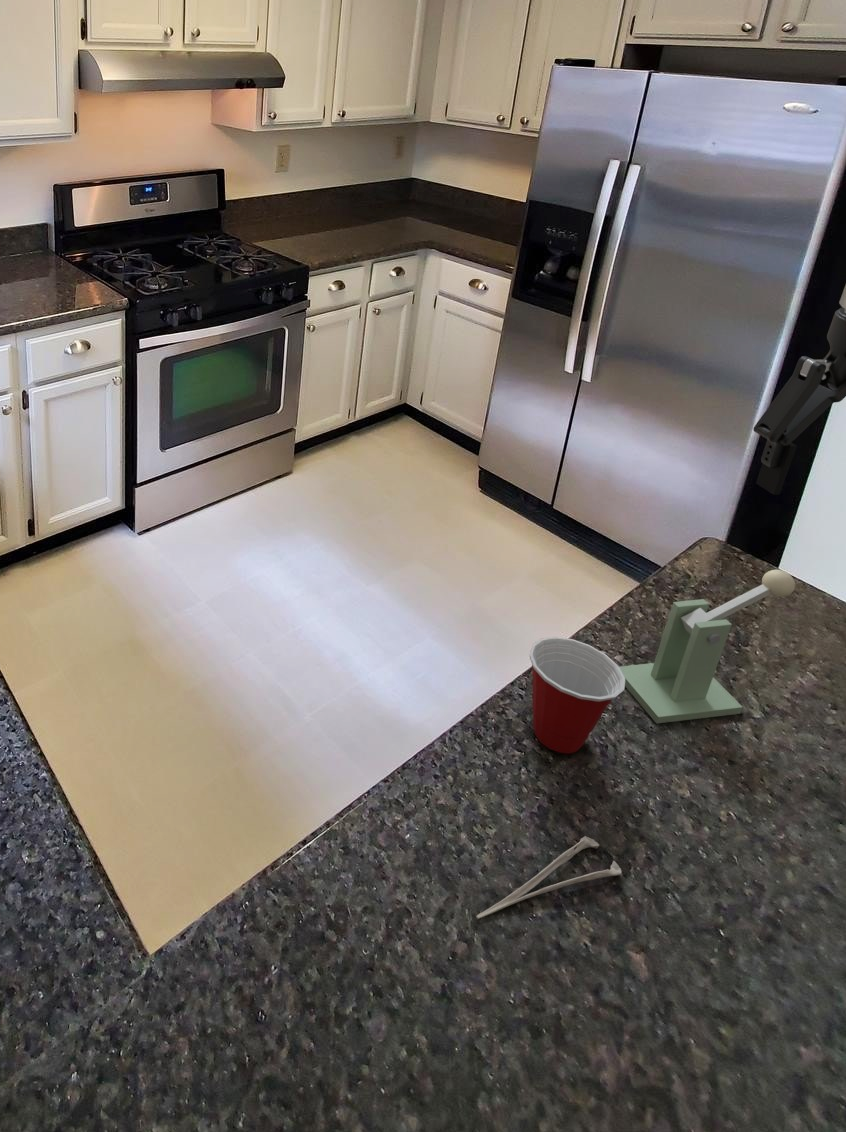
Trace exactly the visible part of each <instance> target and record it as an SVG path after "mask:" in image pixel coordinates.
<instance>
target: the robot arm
mask: <svg viewBox="0 0 846 1132" xmlns="http://www.w3.org/2000/svg"><path fill="white" fill-rule="evenodd" d="M838 304H839V305H840V308H839V309H837V310H836V311H834V314H833V317H832V321H831V323H830V325H829V329H828V330H827V331H828V332H827V334H826V339H827V341H828V343H829V347H830V348H829V351H828V352H827V354H826V355H825V357H823V359H813V358H811V357H810V356H807V355H803V356H801V357H799V359H798V360H797V363H796V365H795V368H794V370H793V373H792V375H791V376H790V377H789V379H788V380H787V381H786V383H785V384H784V386H783V387H782V388H781V390H780V391H779V393H778V394H777V395H776V396H775V398H774V399H773V400H772V402H771V403H770V404H769V406H768V407H767V409H766V410H765V411H764V413H763V414H762V415H761V417H759V420H758V421H757V422H756V423H755V425H754V426H753V432H754V433H756V434H758V435H759V436H761V437H763V438H764V439H766V442H765V445H764V448H763V452H762V454H761V457H760V462H761V463H762V464H761V467H760V470H759V473H758V476H757V479H756V481H755V484H757V485H758V486H760V488H762V489H764V490H765V491H767V492H768V493H769V494H772V495H773V496H778V495H781V492H782V489H783V486H784V484H785V480H786V478H787V475H788V472H789V469H790V467H791V464H792V460H793V458H794V455H795V453H796V449H797V447H798V446H797V445H796V444H794V443H793V442H794V441H795V440H796V439H797V438H798V437H799V436H800V435H801V434H802V433H803V432H804V431H805V430H807V428H809V426H811V424H813V423H814V422H815V421H816V420H817V419H818V418H820V416H821V415H822V414H823V413H824V412H825V411H827V409H828V408H830V406H832V405H833V404H834V403H840V402H842V401H843V400H844V399H845V398H846V284H845V286H844V288H843V291H842V294H841V297H840V299H839V303H838ZM826 385H827V386H828V387H826Z"/></svg>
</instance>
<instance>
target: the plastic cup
mask: <svg viewBox="0 0 846 1132" xmlns="http://www.w3.org/2000/svg"><path fill="white" fill-rule="evenodd" d="M528 655H529V660H530V662H531V669H532V675H531V676H532V706H531V707H532V727H533V731H534V735H535V737H536V738H537V740H538V741H539V743H541V745H543V746H545V748H547V749H549V750H551V751H554V752H556V753H559V754H572V753H576V752H578V751H579V750H580V749H581V748H582V747H583V746H584V744H585V743H586V741H587V739H588V737H589V736H590V734H591V733H592V732H593V730H594V729H595V727H596V726H597V724H598V722H599V721H600V718H601V717H602V715H603V714H604V712H605V711H606V709H607V707H608V706H609V705H610V704H611V702H612V701H613V700H615V699H616V698H617V697H618V696H620V694H622V693H623V692H624V691H625V689H626V687H625V677H624V675H623V673H622V671H621V669H620V668H619V667H620V666H619V665H618V664H617V663H616V662H615V661H614V660H612V659H611V657H610V656H609V655H607V654H605V653H604V652H602V651H600V650H599V649H598V648H596V647H595V646H592V645H590V644H587V643H584V642H581V641H580V640H577V639H573V638H567V637H560V636H550V637H543V638H539V640H537V641H535V642H534V643H533V644H532V645H531V647H530V650H529V654H528Z"/></svg>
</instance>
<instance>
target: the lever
mask: <svg viewBox="0 0 846 1132" xmlns="http://www.w3.org/2000/svg"><path fill="white" fill-rule="evenodd" d="M795 588H796V582H795V579H794V578H793V577H792V575H791V574H790V573H788V572H787V571H784V570H783V569H771V570H769V571H766V572H765V573H764V575H763V576H762V578H761V584H760V585H758V586H756V587H754V588H752V589H750V590H748V591H746V592H744V593H743V594H741V595H738V596H736V597H734V598H733V599H731V600H729V601H727V602H724V603H723V604H721V605H719V606H717V607H715V608H714V609H711V610H709V611H707V612H705V611H704V610H702V609H701V608H699V609H697V610H695V611H693V612H691V613H689V614H687V615H685V616H683V617H681V619H682V622H683V625H684V627H685V629H686V630H687V631H688V632H689V633H690V634H691V633H692V630H693V627H694V624H695V623H697V622H707V621H716V620H724V619H726V618H727V617H729V616H730V615H733V614H735V613H737V612H739V611H741V610H742V609H744V608H746V607H749V606H750V605H752V604H755V603H756V602H758V601H760V600H763V598H766V597H768V596H770V595H771V596H774V597H776V598H777V597H778V598H784V597H788V596H790V595H791V594H792V593H793V592H794V591H795Z"/></svg>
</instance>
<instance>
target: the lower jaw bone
mask: <svg viewBox="0 0 846 1132" xmlns="http://www.w3.org/2000/svg"><path fill="white" fill-rule="evenodd" d="M599 847H600V843H599V842H597V841H596V840H595V839H593V838H591V837H589V836H587V835H584V836H583V837H581V838H580V840H579V842H577V843H576V844H575V845H573V846H572V847H570V848H569V849H567V850H566V851H564V852H563V853H561V854H560V855H559V856H557V857H556V858H555V859H554V860H553V861H551V862H550V864H548V865H547V866H546V867H544V868H543V869H542V870H541V871H539V872H538V873H537V874H536V875H535V876H533V877H532V878H531V879H530V880H528V881H526V882H525V883H524V884H522V885H521V886H520V887H519V888H517V889H516V890H513V892H511V893H510V894H508V895H507V896H505V897H504V898H503V899H501V900H499V901H498V902H496V903H495V904H494V905H492V906H490V907H489V908H487V909H485V910H483V911H482V912H480V913H478V914H477V915H476V916H475V918H476V919H477V920H479V919H481V918H484V917H486V916H489V915H491V914H494V913H496V912H499V911H501V910H503V909H505V908H507V907H510V906H512V905H515V904H517V903H519V902H522V901H524V900H527V899H530V898H532V897H536V896H538V895H542V894H545V893H548V892H551V891H554V890H558V889H561V888H565V887H567V886H570V885H571V886H572V885H573V884H577V883H582V882H587V881H592V880H597V879H601V878H607V877H608V878H609V877H616V876H620V875H622V874H623V873H622V868H621V867H620V866H619V864H618V863H617V862H616V861H615V860H613V861H612V862H611V863H612V864H610V869H609V868H607V869H604V870H598V871H593V872H589V873H587V874H584V875H580V876H577V877H574V878H570V879H567V880H563V881H561V882H558V883H555V884H551V885H548V886H544V887H542V888H540V889H538V890H536V891H532V892H530V891H531V890H533V889H534V888H535V887H536V886H538V885H539V884H540V883H541V882H542V881H543V880H544V879H545V878H547V877H548V876H549V875H550V874H551V873H553V872H554V871H555V870H557V868H559V867H560V866H562V865H563V864H564V863H566V862H568V861H570V860H571V859H572V858H573V857H574V856H575V855H576V854H578V853H579V852H581V851H583V850H584V849H587V848H588V849H589V848H593V849H598V848H599ZM528 892H530V893H528Z"/></svg>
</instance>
